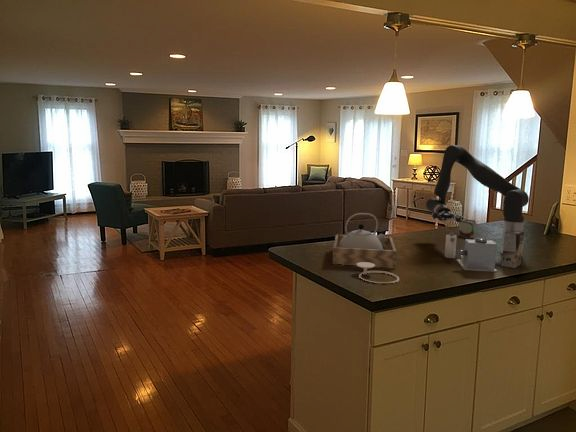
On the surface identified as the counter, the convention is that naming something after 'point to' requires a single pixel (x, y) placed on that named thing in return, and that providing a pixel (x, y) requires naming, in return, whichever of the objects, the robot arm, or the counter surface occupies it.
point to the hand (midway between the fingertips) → (449, 219)
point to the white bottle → (450, 245)
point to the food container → (467, 228)
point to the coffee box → (512, 248)
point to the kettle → (361, 237)
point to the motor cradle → (478, 255)
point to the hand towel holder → (371, 265)
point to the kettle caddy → (366, 254)
